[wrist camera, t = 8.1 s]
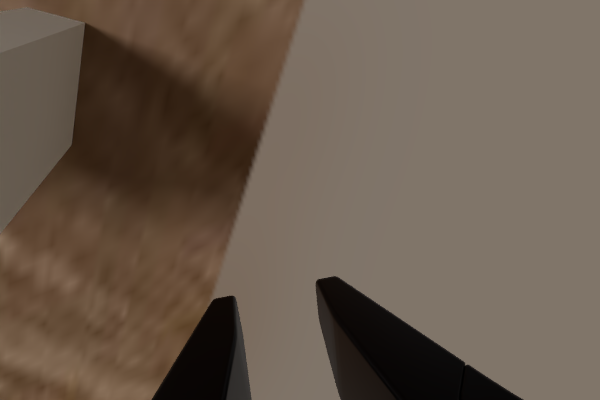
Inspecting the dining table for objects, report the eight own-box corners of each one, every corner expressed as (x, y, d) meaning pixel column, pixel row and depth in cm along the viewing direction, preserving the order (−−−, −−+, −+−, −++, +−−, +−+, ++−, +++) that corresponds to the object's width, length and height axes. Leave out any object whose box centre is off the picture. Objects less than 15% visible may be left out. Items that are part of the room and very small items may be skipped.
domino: (85, 22, 18) (-32, 64, 9) (71, 145, 20) (-37, 279, 11) (27, 7, 17) (-158, 34, 9) (18, 134, 19) (-141, 267, 10)
